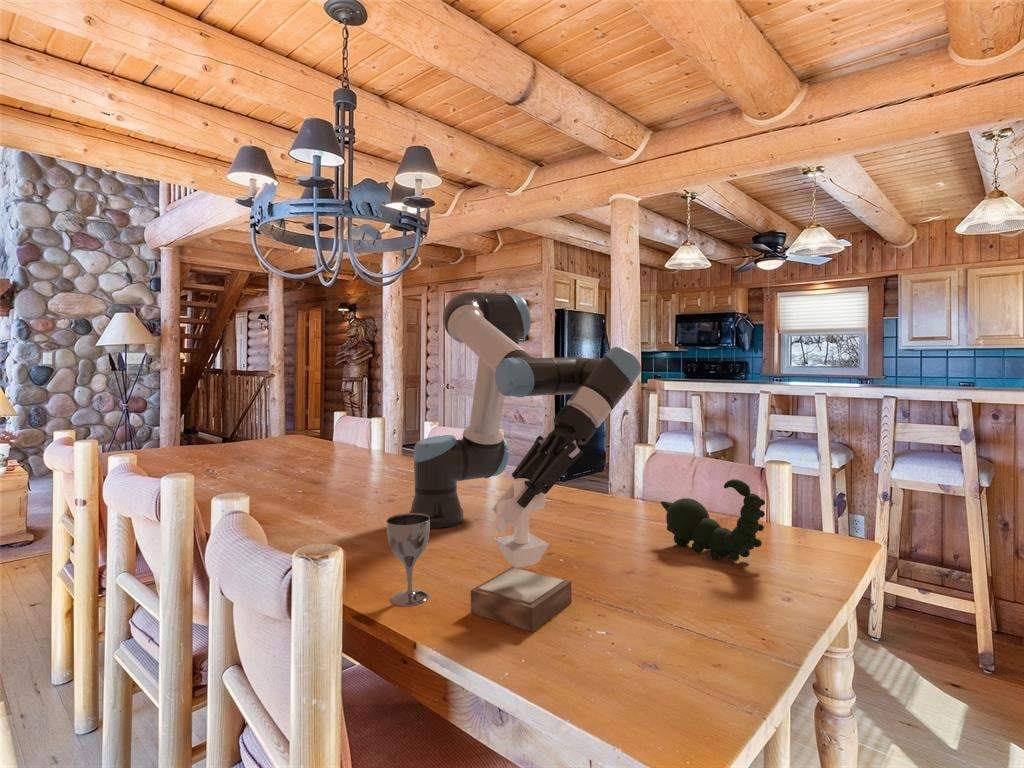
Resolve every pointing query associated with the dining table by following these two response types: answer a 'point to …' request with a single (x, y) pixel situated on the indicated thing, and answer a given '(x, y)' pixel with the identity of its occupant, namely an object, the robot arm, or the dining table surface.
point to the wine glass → (408, 550)
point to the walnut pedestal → (521, 598)
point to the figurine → (521, 532)
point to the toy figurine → (716, 525)
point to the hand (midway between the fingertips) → (501, 516)
